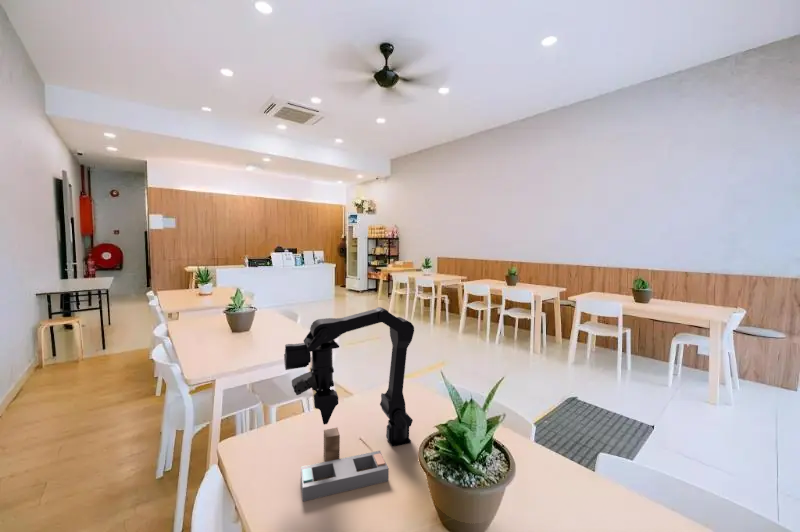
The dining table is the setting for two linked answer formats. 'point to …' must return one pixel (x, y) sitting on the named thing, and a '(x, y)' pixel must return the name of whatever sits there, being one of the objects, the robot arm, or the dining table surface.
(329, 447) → the brown wooden block
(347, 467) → the socket strip
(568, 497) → the dining table surface
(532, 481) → the dining table surface
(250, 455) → the dining table surface
